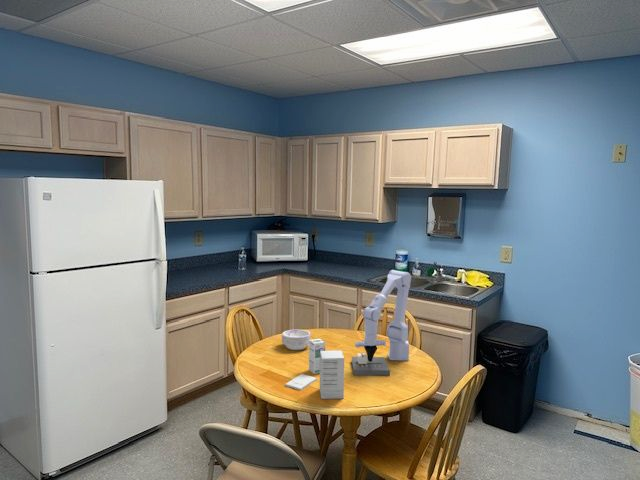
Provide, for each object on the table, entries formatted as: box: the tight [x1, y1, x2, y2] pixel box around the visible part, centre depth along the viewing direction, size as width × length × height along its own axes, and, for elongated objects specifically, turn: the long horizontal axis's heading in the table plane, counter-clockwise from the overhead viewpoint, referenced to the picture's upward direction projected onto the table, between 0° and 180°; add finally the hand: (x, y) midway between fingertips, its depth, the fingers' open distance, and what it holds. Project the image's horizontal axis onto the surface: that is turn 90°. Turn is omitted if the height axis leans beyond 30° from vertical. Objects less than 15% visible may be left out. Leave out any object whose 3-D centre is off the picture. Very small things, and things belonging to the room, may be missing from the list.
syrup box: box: [308, 338, 326, 375], centre depth 203 cm, size 6×6×14 cm
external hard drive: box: [284, 373, 317, 391], centre depth 191 cm, size 2×8×12 cm
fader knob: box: [356, 352, 367, 364], centre depth 208 cm, size 4×5×4 cm
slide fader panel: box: [351, 356, 391, 376], centre depth 208 cm, size 16×16×3 cm
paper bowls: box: [281, 328, 312, 351], centre depth 234 cm, size 15×15×8 cm
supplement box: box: [319, 350, 345, 400], centre depth 180 cm, size 10×9×17 cm
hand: (369, 360), depth 208 cm, fingers closed
